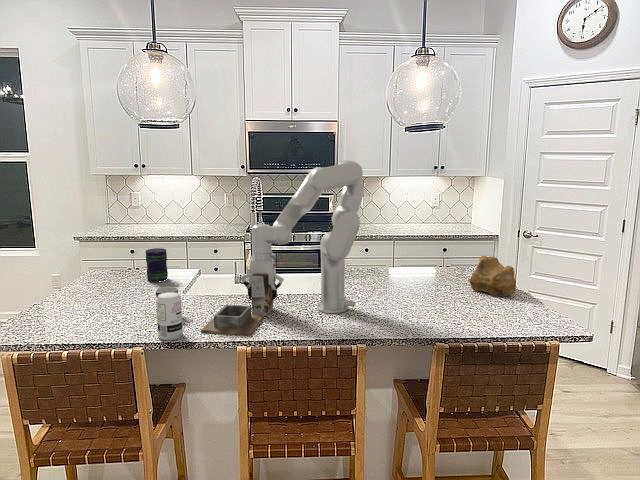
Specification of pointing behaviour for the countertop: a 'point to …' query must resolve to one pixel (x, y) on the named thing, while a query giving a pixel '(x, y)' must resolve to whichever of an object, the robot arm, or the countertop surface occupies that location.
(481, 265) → the rough brown rock
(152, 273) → the storage jar
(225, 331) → the holder stand
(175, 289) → the coffee mug
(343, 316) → the countertop surface
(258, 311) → the coffee box
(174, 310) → the supplement can
